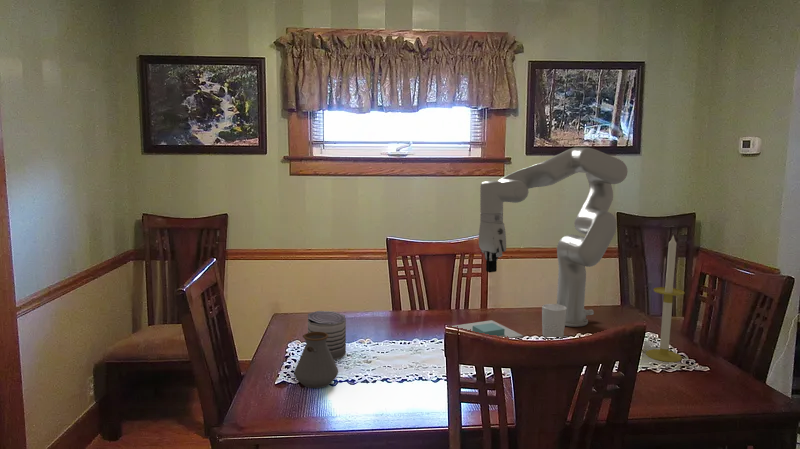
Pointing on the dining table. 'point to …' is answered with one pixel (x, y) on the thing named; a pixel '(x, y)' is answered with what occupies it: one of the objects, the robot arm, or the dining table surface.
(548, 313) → the white cup
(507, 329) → the mat
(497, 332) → the slab
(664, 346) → the candle
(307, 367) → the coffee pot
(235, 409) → the dining table surface
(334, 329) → the can
